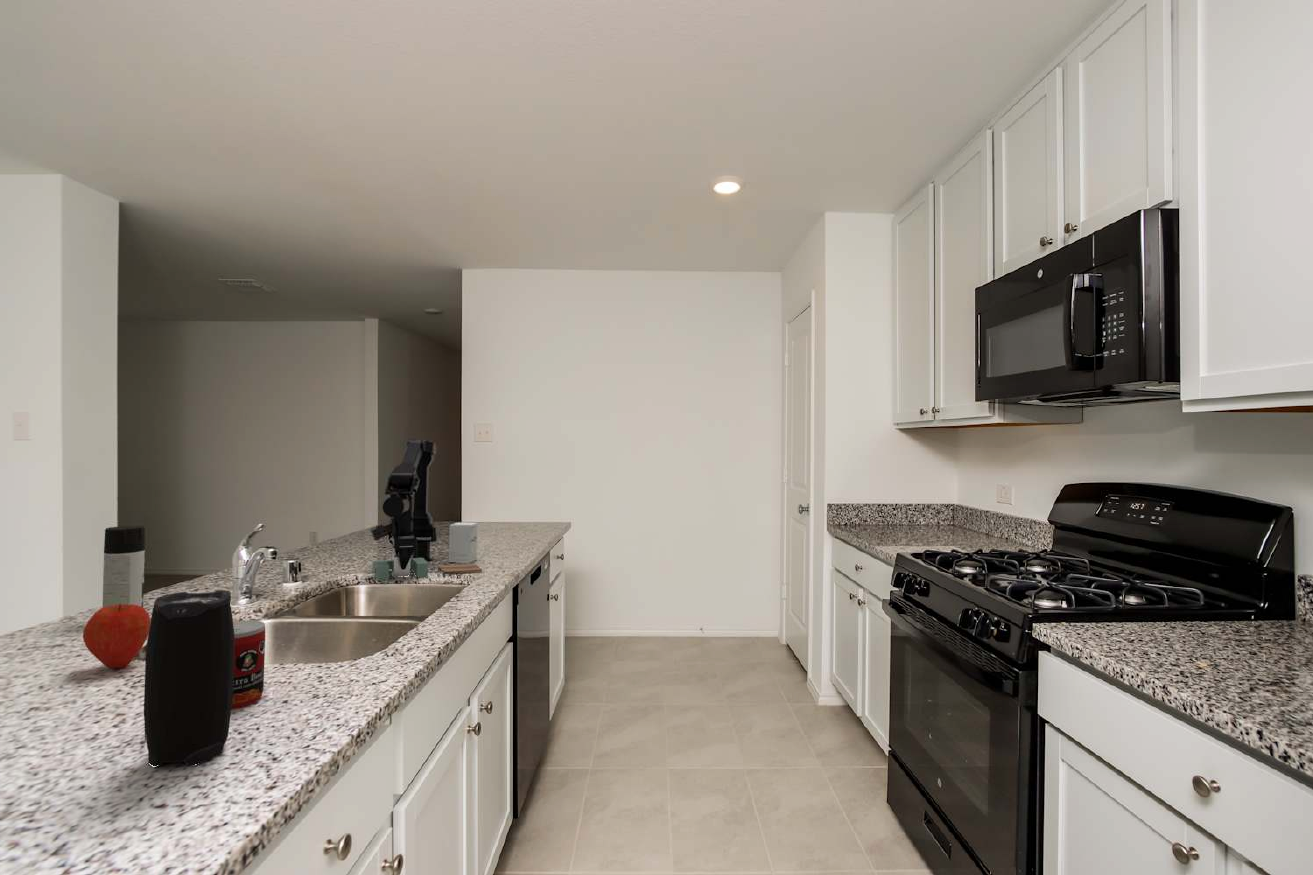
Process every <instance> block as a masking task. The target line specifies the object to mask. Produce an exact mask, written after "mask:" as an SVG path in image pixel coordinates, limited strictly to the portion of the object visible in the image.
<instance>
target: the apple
mask: <svg viewBox="0 0 1313 875" xmlns="http://www.w3.org/2000/svg"><path fill="white" fill-rule="evenodd" d="M150 623H151V618H150V615H149V612H148V611H147V609H145V608H144V606H143V607H141V606H138V605H128V604H126V605H121V604H120V605H118V606H109V607H104V608H100V609H98V610H97V611H95V612H94V613H93V614H92V616H91V617H90V618H89V619H88V620H87V623H86V625H85V626H84V628H83V634H82V639H83V642H84V645H85V647H86V648H87V650H88V651H89V652H90V653H91V654H92V656H94V657H95V658H96V659H97V661H100V663H101V664H102V665H104V666H105V667H106V668H110V669H111V668H112V669H121V668H127V667H128V666H129V664H131V662H132V661H133V660H134V659H135V657H136V656H137V655H139V652H140V651H141V650H142V649H143V646H144V644H145V643H146V642H147V640H148V634H149V628H150Z"/></svg>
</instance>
